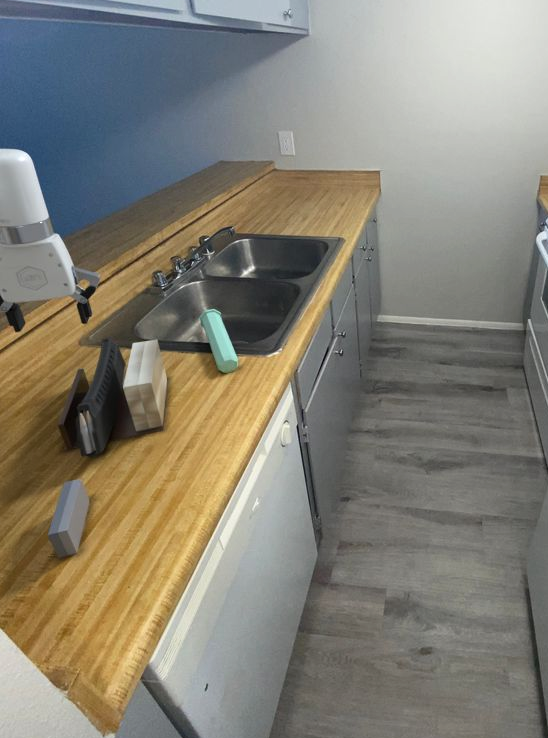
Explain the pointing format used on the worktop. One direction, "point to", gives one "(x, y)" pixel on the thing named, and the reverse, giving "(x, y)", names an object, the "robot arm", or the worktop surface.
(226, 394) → the worktop surface
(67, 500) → the blue-grey rectangular block
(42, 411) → the worktop surface
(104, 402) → the magazine
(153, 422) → the book rack
